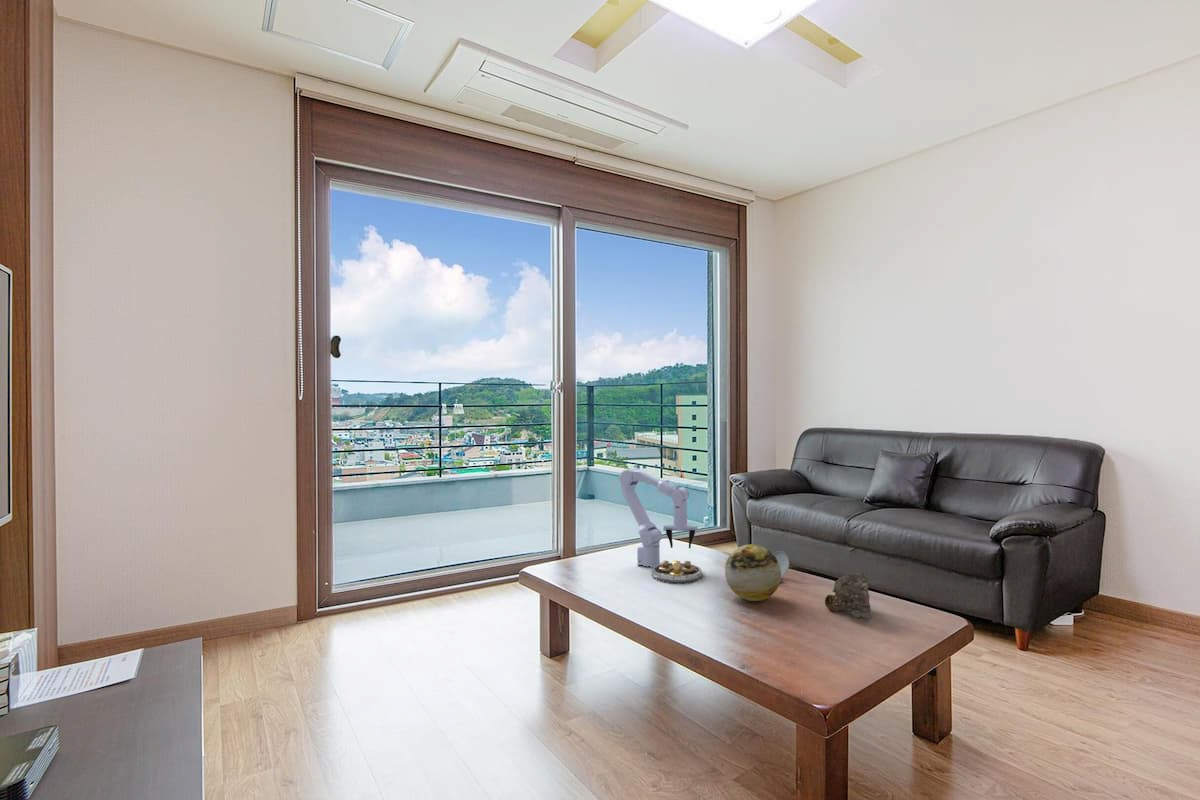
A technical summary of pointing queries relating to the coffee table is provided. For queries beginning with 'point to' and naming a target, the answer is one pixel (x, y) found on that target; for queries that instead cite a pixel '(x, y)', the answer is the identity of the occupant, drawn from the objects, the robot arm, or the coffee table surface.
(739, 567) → the decorative sphere
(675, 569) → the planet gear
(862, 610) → the rock
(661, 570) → the carrier
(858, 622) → the coffee table surface
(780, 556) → the pocket watch
